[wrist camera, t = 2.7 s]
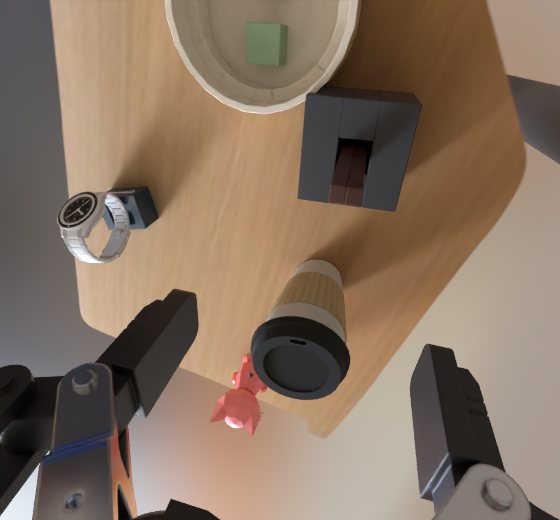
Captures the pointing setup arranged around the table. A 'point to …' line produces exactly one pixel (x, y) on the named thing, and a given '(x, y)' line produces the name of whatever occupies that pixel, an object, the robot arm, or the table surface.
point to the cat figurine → (241, 399)
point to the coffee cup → (304, 335)
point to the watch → (117, 214)
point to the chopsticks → (349, 173)
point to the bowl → (232, 47)
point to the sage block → (266, 43)
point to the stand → (363, 126)
